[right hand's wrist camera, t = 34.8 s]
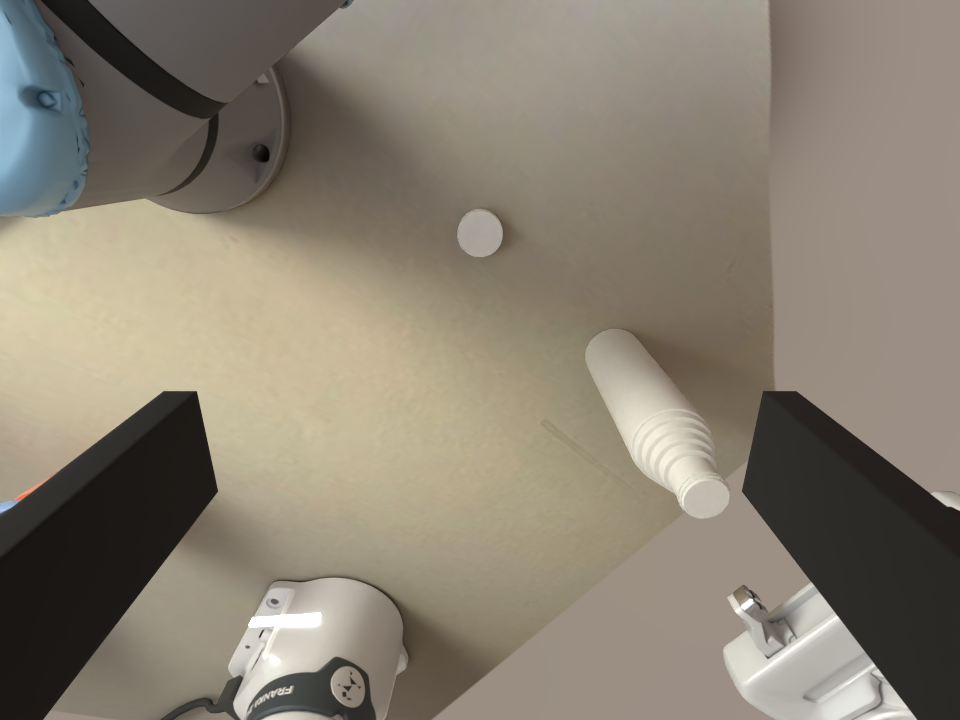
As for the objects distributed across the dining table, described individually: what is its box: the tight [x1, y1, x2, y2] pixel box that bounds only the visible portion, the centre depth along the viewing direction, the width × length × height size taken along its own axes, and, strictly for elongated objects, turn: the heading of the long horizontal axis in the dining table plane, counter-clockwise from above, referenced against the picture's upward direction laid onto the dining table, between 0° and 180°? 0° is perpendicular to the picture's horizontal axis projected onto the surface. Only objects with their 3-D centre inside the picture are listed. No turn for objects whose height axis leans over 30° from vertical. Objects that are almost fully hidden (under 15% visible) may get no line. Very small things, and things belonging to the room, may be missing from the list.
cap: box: [457, 209, 503, 257], centre depth 45 cm, size 4×4×2 cm
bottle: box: [585, 329, 730, 519], centre depth 40 cm, size 5×5×22 cm
